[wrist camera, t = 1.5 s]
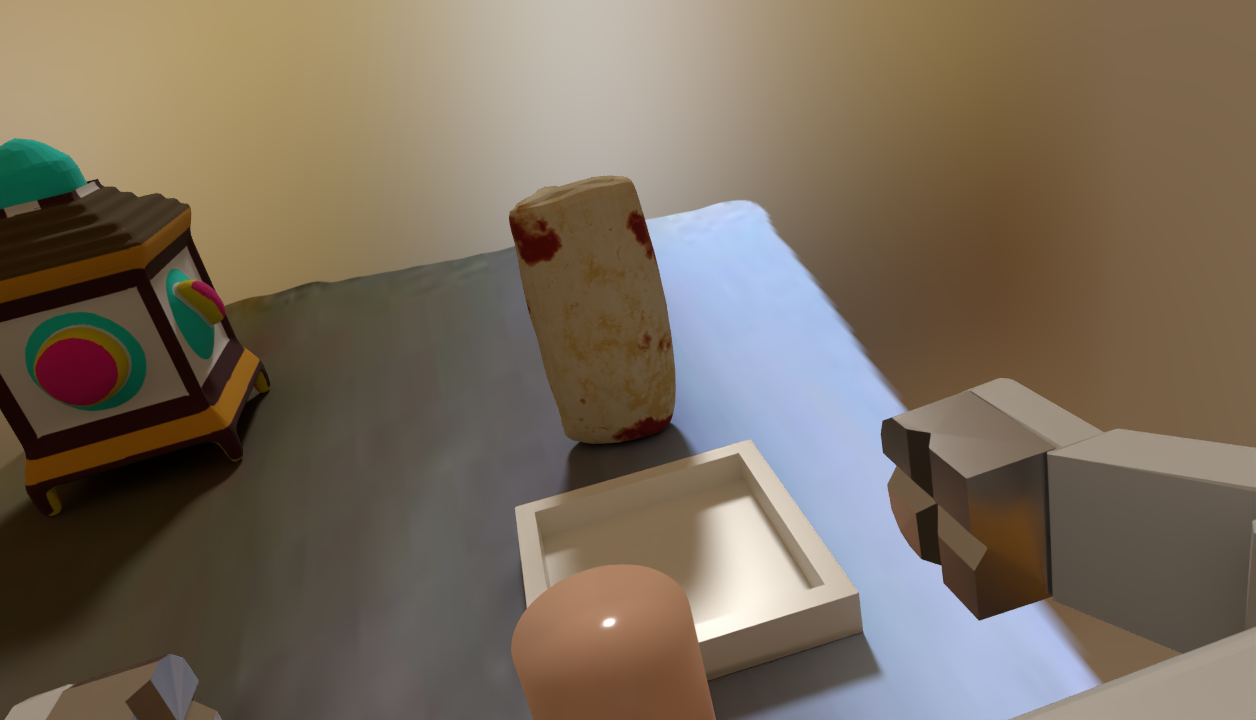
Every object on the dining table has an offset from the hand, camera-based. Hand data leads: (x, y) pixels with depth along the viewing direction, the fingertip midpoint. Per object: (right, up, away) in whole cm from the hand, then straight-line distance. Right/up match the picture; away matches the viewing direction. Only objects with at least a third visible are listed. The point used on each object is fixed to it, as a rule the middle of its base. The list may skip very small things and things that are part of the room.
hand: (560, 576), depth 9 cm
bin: (+3, -10, +38) cm, 39 cm away
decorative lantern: (-44, -6, +70) cm, 83 cm away
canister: (+3, -18, +21) cm, 28 cm away
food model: (+1, -3, +54) cm, 54 cm away
